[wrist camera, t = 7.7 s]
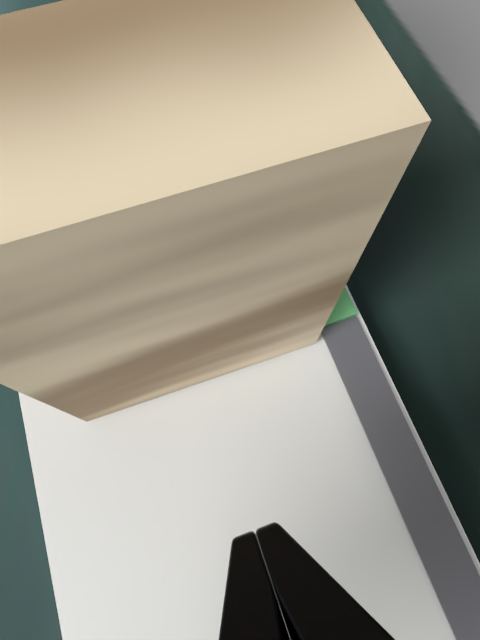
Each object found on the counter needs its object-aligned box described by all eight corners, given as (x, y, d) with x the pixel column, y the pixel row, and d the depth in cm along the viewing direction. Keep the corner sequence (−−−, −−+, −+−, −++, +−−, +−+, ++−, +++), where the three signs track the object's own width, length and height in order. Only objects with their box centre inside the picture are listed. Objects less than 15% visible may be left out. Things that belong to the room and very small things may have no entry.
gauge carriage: (363, 327, 16) (545, 87, 6) (86, 421, 15) (-190, 300, 5) (318, 233, 17) (414, -80, 8) (62, 313, 16) (-195, 60, 6)
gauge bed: (576, 798, 12) (614, 833, 11) (148, 1016, 11) (136, 1083, 10) (273, 153, 20) (276, 131, 19) (0, 231, 18) (-17, 213, 17)
